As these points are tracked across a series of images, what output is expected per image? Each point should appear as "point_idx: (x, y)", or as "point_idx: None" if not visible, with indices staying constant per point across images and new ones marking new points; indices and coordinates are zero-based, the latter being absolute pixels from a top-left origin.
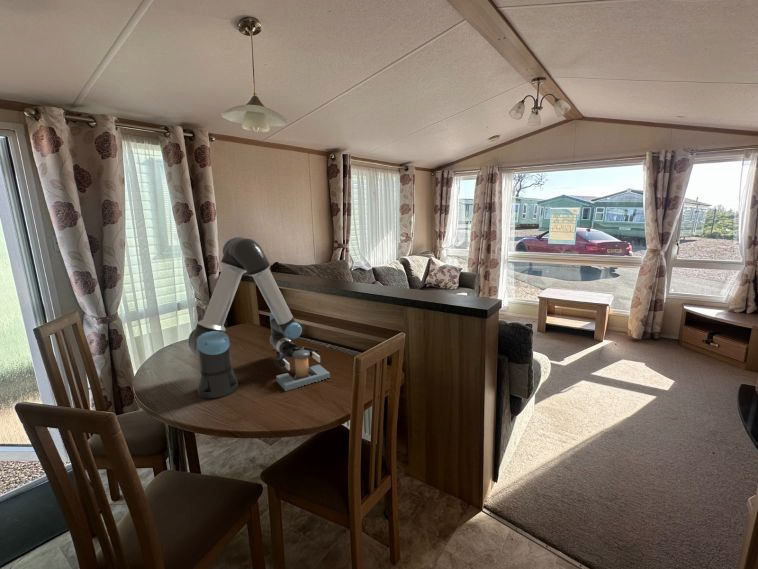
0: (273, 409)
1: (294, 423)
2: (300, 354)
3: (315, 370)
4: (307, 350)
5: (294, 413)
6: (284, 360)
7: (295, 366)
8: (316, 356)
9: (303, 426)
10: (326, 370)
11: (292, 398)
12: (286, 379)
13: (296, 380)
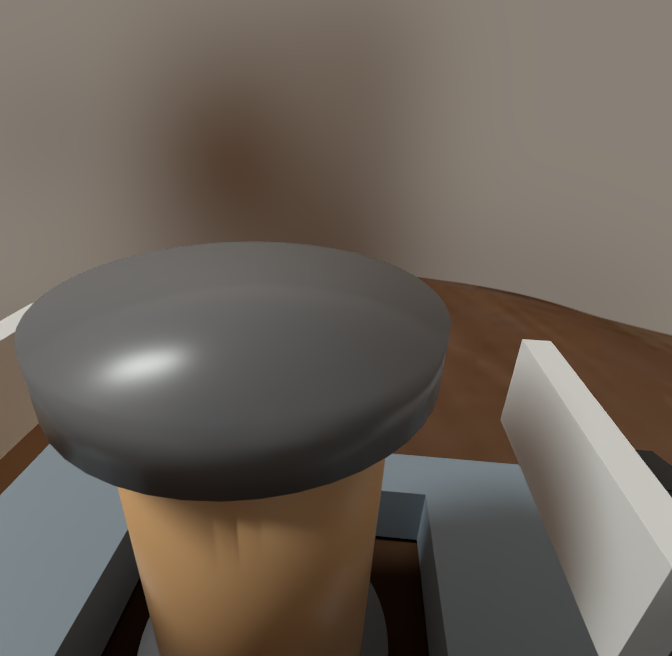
0: (607, 391)
1: (503, 305)
2: (310, 271)
3: (73, 567)
4: (38, 305)
5: (494, 334)
6: (638, 464)
7: (375, 528)
8: (12, 359)
9: (474, 289)
10: (14, 483)
11: (483, 416)
12: (522, 582)
13: (412, 486)
